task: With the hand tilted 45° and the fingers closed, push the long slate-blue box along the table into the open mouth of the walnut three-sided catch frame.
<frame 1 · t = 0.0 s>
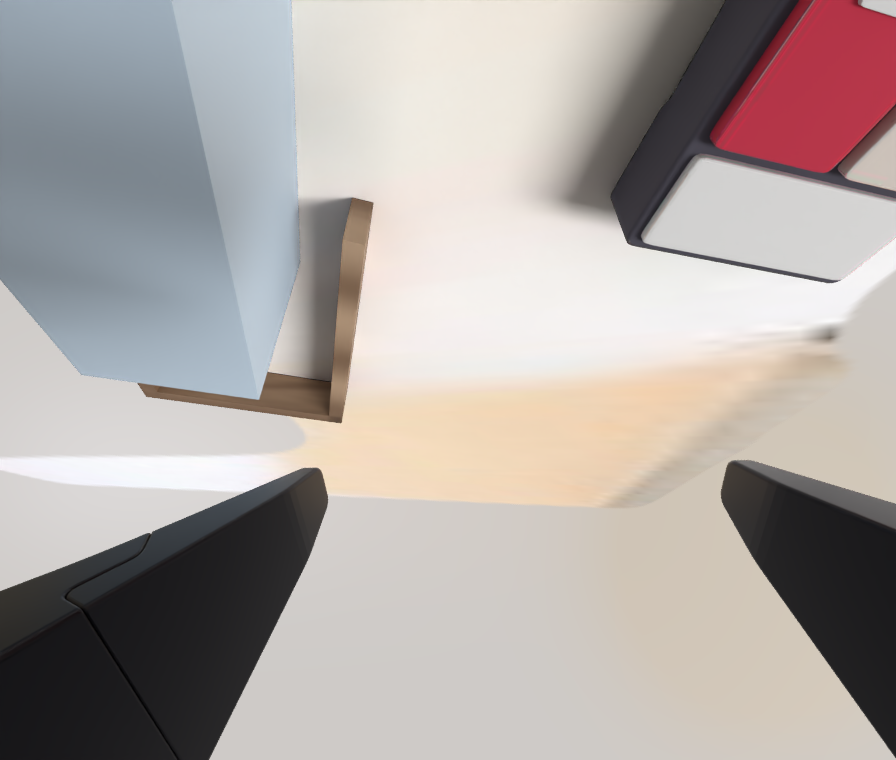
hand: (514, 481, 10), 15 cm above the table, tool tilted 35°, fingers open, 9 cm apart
calculator: (854, 35, 15), on the table
slate box: (203, 90, 17), on the table
catch frame: (242, 295, 26), on the table
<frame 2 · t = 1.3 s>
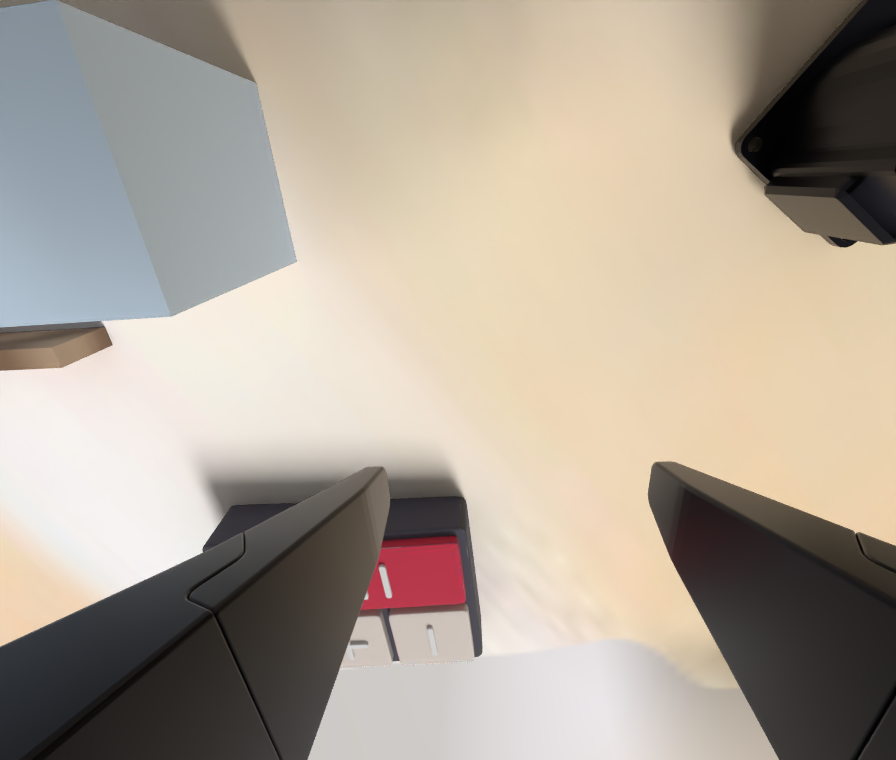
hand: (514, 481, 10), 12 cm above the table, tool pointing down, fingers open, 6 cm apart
calculator: (363, 558, 29), on the table
slate box: (112, 195, 20), on the table
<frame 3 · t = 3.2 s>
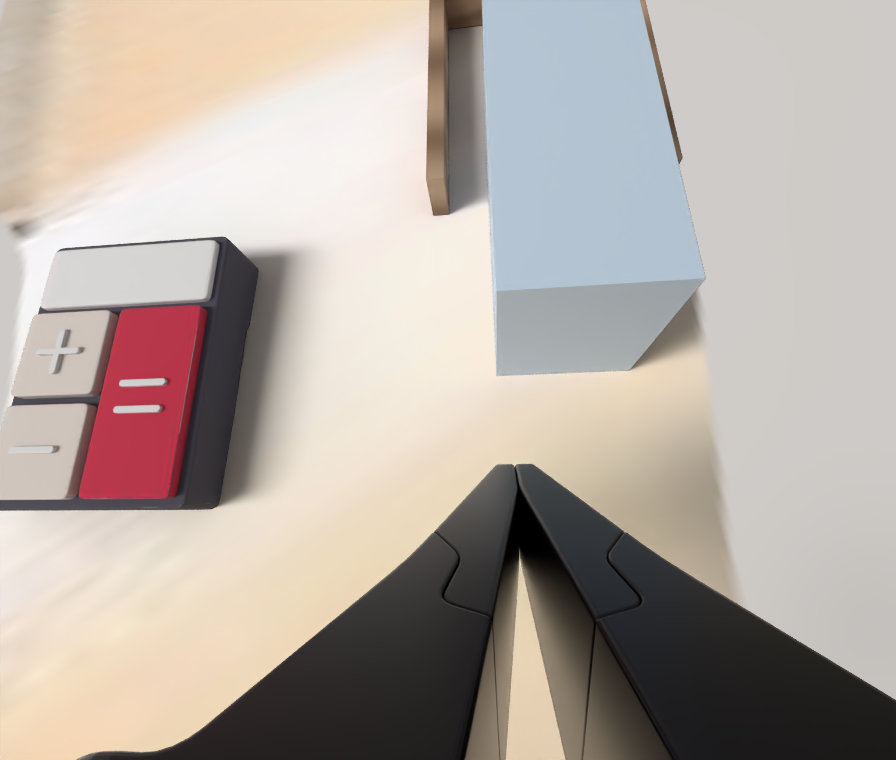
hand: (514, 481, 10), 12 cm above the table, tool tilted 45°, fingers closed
calculator: (161, 383, 26), on the table
slate box: (549, 249, 26), on the table
catch frame: (535, 104, 30), on the table
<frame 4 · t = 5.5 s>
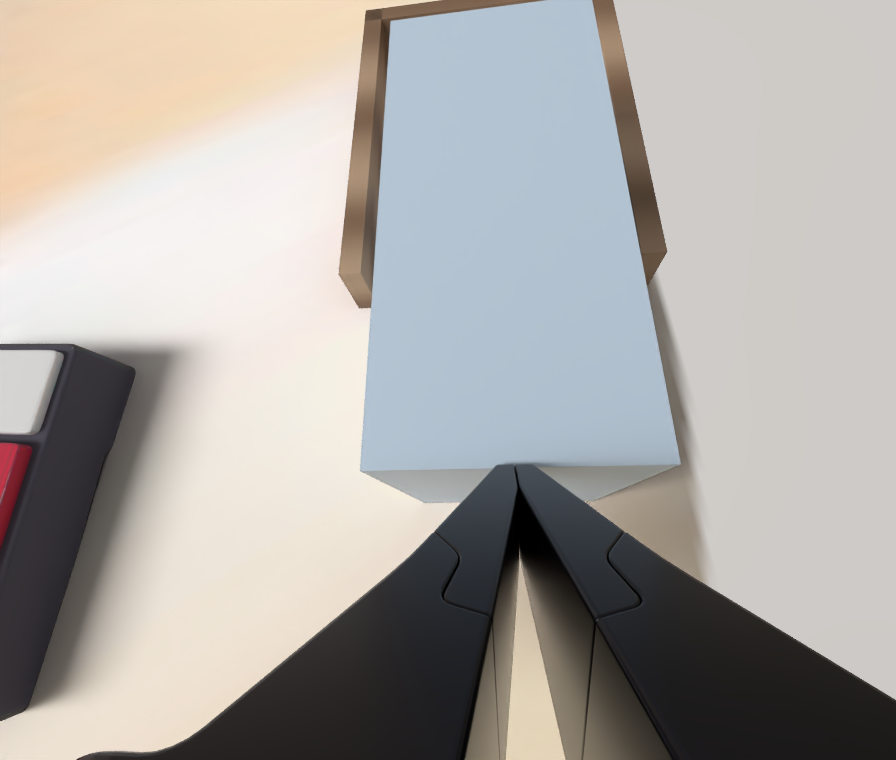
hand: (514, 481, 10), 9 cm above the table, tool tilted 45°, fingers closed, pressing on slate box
calculator: (0, 514, 21), on the table
slate box: (499, 329, 21), on the table, touching gripper
catch frame: (490, 164, 24), on the table
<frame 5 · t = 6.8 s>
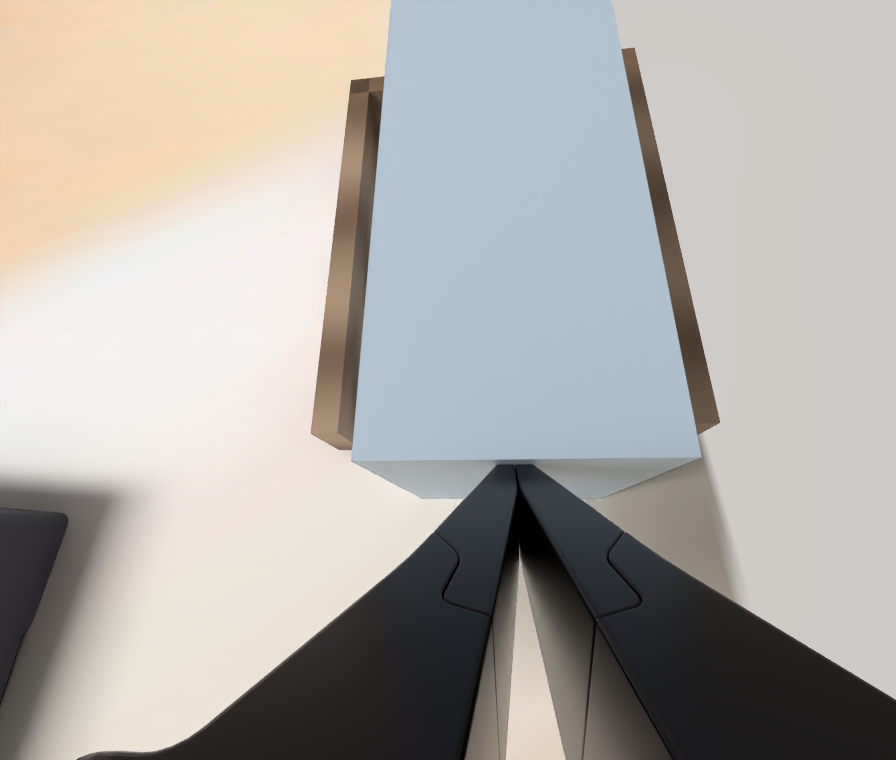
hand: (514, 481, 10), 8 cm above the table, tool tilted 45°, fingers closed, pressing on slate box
slate box: (502, 320, 20), on the table, touching gripper
catch frame: (496, 266, 21), on the table
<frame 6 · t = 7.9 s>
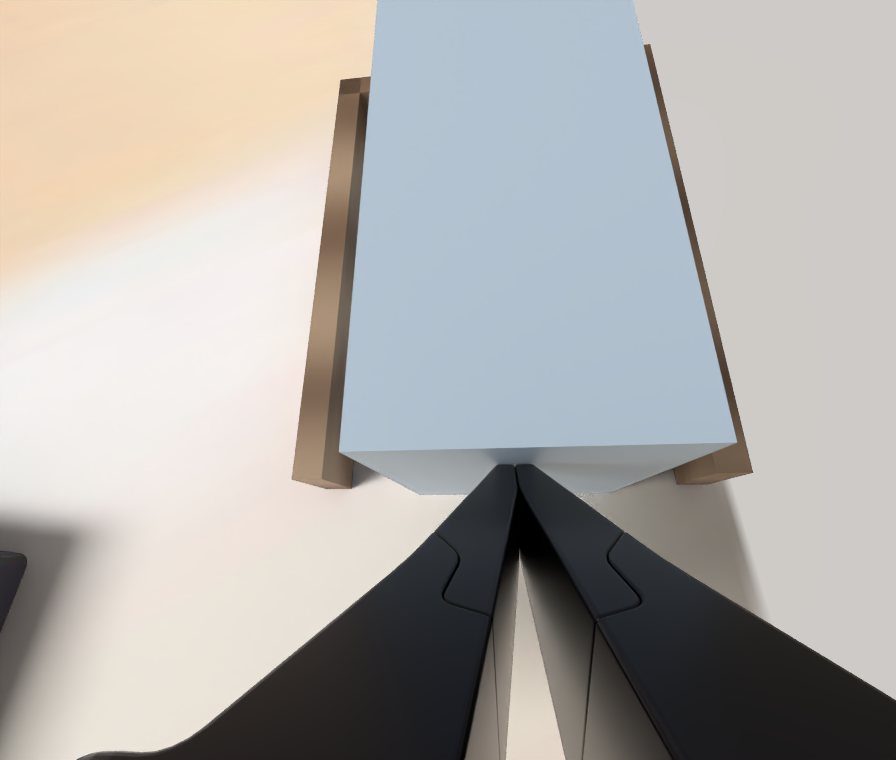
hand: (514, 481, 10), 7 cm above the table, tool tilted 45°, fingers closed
slate box: (503, 306, 19), on the table
catch frame: (498, 284, 19), on the table
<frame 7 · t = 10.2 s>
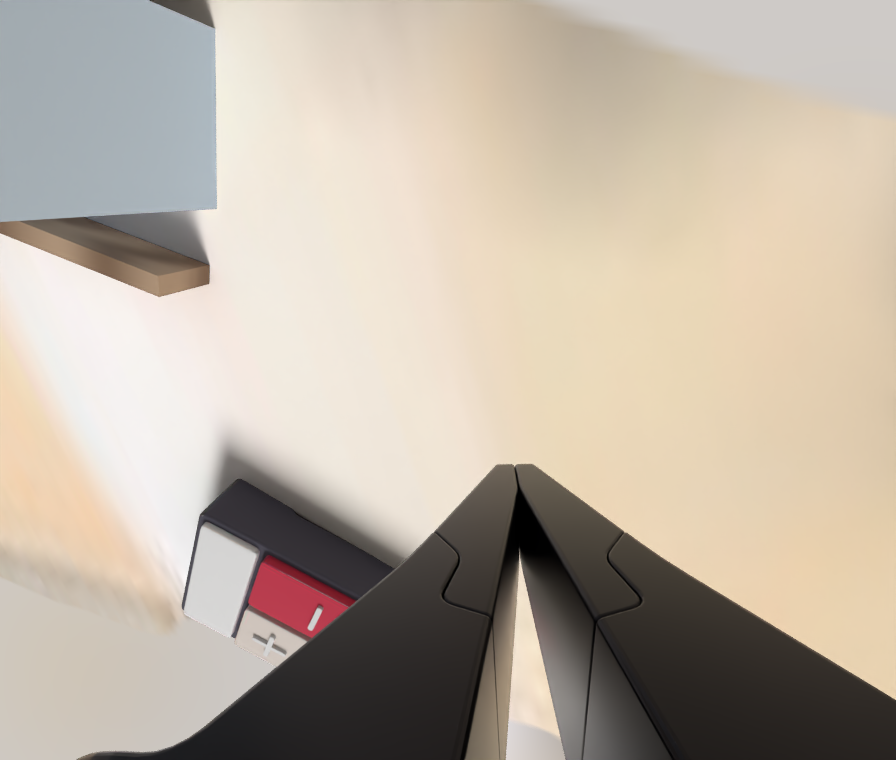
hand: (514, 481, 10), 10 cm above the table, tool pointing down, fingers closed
calculator: (319, 575, 31), on the table
slate box: (72, 83, 20), on the table
catch frame: (51, 81, 20), on the table
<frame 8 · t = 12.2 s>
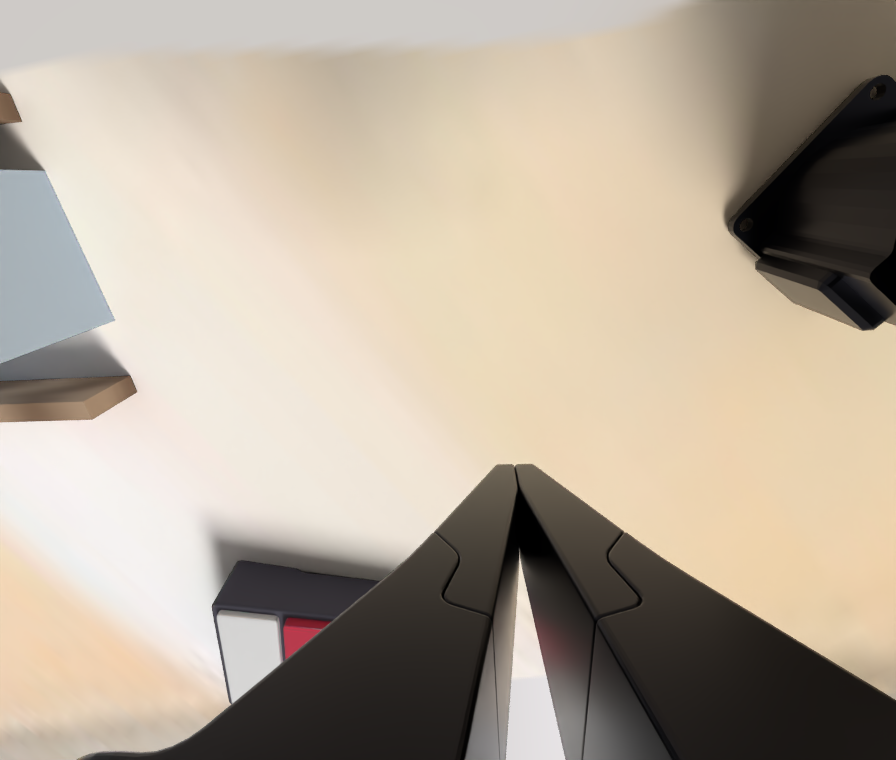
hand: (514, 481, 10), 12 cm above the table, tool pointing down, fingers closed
calculator: (347, 620, 32), on the table
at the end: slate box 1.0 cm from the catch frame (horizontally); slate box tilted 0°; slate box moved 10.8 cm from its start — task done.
